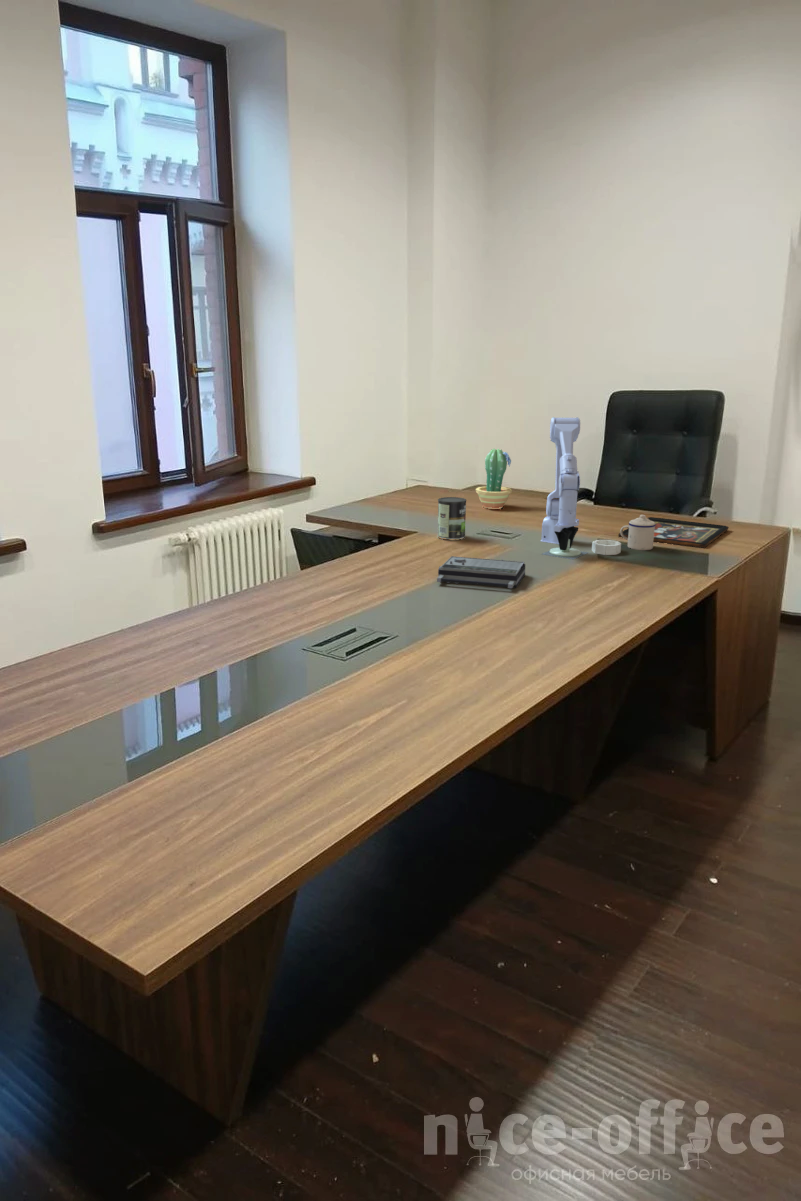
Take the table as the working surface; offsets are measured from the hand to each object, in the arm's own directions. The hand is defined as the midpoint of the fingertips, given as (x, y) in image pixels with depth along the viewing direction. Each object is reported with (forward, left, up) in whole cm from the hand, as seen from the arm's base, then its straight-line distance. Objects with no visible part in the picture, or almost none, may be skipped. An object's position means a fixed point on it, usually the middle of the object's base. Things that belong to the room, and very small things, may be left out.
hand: (565, 549), depth 303 cm
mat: (0, 0, -2) cm, 2 cm away
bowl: (+10, +11, -2) cm, 15 cm away
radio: (-6, -45, -2) cm, 45 cm away
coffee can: (-45, -2, -2) cm, 45 cm away
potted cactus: (-62, +56, -2) cm, 84 cm away
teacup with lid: (+15, +25, -2) cm, 29 cm away
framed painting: (+18, +54, -3) cm, 57 cm away
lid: (0, 0, -2) cm, 2 cm away
